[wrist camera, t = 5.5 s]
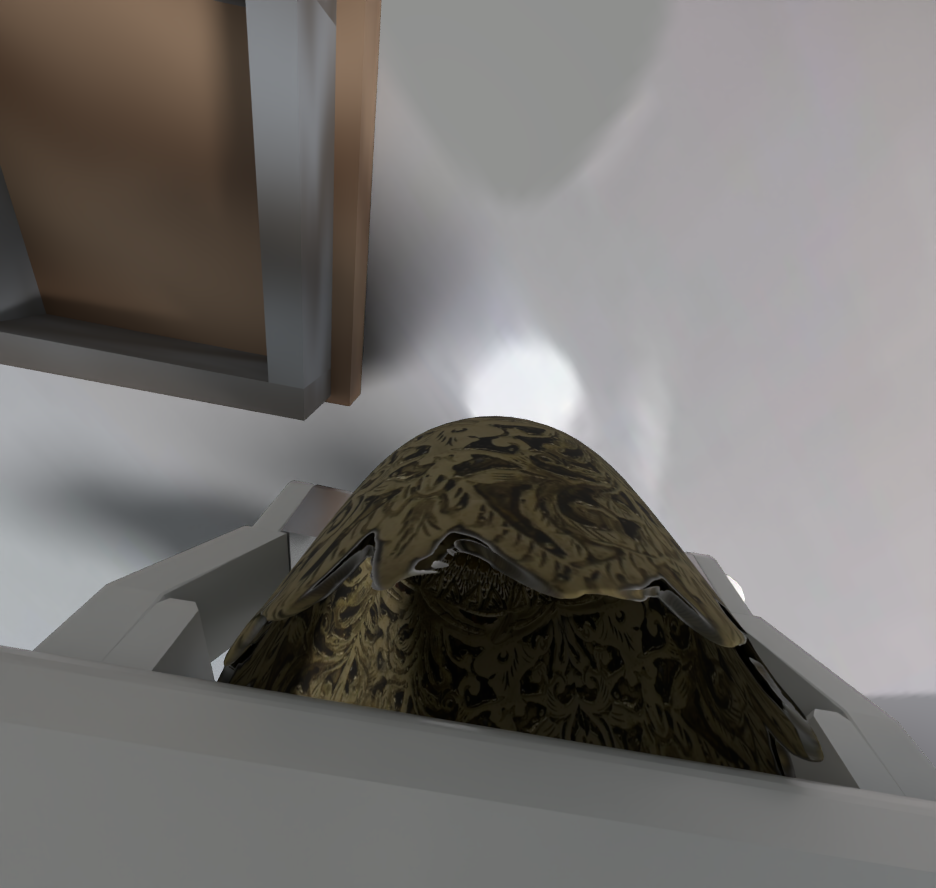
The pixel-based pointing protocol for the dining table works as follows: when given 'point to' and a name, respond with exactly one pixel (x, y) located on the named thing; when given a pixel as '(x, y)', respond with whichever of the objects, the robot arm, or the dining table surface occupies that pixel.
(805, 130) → the dining table surface
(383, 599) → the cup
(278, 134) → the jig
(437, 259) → the dining table surface
